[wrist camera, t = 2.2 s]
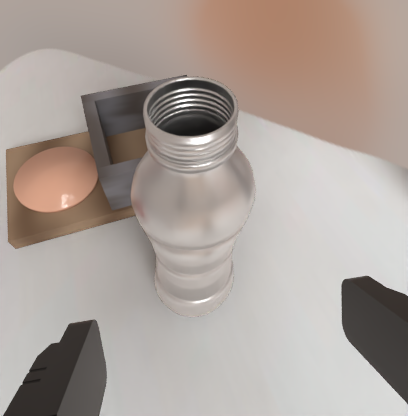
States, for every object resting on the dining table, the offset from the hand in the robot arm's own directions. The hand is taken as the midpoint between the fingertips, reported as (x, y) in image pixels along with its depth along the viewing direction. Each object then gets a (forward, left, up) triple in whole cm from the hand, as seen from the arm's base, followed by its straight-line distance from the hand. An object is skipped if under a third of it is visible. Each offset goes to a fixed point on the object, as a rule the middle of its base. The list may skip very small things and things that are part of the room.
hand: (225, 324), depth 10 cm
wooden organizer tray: (+3, -22, -17) cm, 29 cm away
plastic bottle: (-1, -7, -18) cm, 19 cm away
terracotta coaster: (+9, -22, -16) cm, 29 cm away
